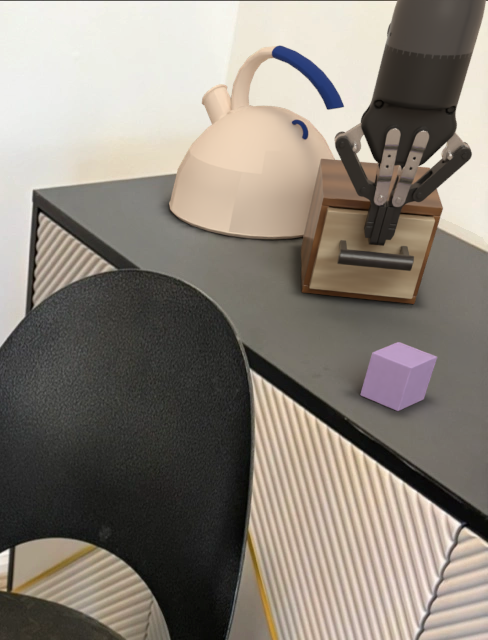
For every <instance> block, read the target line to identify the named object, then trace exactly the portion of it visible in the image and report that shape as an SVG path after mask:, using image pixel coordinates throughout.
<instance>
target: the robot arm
mask: <svg viewBox="0 0 488 640" xmlns="http://www.w3.org/2000/svg"><path fill="white" fill-rule="evenodd" d="M395 3H396V4H395V7H394V9H393V13H392V16H391V20H390V23H389V25H388V28H387V30H386V31H387V32H386V37H387V38H386V41H385V45H384V49H383V52H382V57H381V61H380V64H379V68H378V69H379V70H378V72H377V77H376V81H375V85H374V89H373V92H372V97H371V100H370V102H369V103H370V104H369V105H368V107H366V109H365V111H364V112H363V114H362V115H361V118H360V122H359V123H358V124H356V125H355V126H353V127H352V128H350V129H348V130H346V131H339V132H337V133H336V134H335V137H334V147H335V150H336V152H337V154H338V156H339V158H340V159H339V160H341V161H342V163H343V165H344V167H345V169H346V171H347V173H348V175H349V178H350V180H351V182H352V184H353V186H354V188H355V190H356V192H357V194H358V195H359V196H361V197H365V198H367V199H369V200H370V206H369V210H368V214H367V218H366V222H365V225H364V233H365V238H368V243H369V245H380V246H384V244H385V241H386V240H391V239H392V237H393V236H394V234H395V230H396V227H397V223H398V219H399V216H400V212H401V209H402V207H403V206H404V205H405V204H407V203H410V202H413V201H416V202H421V201H423V200H424V199H425V198H427V197H428V196H429V195H430V194H431V193H432V192H433V191H435V190H436V189H437V190H438V188H439V187H440V186H442V185H443V184H444V183H445V182H447V181H448V180H449V179H450V178H451V177H452V176H453V175H454V174H455V173H456V172H458V170H460V169H461V168H462V167H463V166H464V165H466V164H467V163H468V162H469V161H470V160H471V158H472V155H473V152H472V149H471V147H470V145H469V143H468V142H466V141H463V140H462V138H461V137H460V136H459V135H458V134H457V132H456V131H457V129H458V122H457V118H456V117H457V116H456V114H457V109H458V104H459V101H460V97H461V95H462V91H463V88H464V83H465V80H466V77H467V74H468V71H469V68H470V67H469V66H470V63H471V60H472V58H473V53H474V50H475V47H476V44H477V39H478V36H479V33H480V30H481V27H482V22H483V19H484V14H485V9H486V3H487V0H396V2H395ZM363 136H364V138H365V141H366V143H367V145H368V149H369V151H370V153H371V155H372V158H373V159H374V161H375V163H377V168H376V176H375V182H372V181H370V180H368V178H367V176H366V174H365V172H364V169H363V167H362V165H361V163H360V162H361V160H360V158H359V156H358V153H360V151H361V149H362V142H361V140H362V137H363ZM444 145H445V147H444ZM442 147H444V148H443V149H442V150H441V153H440V155H441V159H440V160H438V161H437V162H436V163H434V165H433V166H432V167H430V170H429V171H427V172H426V173H425V174H424V175H423V176H422V177H421V178H420V179H418V180H417V181H416V182H415V183H414V184H412V182H413V180H414V178H415V175H416V172H417V169H418V167H421V166H422V165H424V164H425V163H427V162H428V161H429V160H430V159H431V158H432V157H433V156H434V155H435V154H436V153H437V152H438V151H440V149H441V148H442ZM396 165H399V167H398V171H397V175H396V178H395V181H394V184H393V187H392V190H391V193H390V197H389V201H387V197H388V192H389V187H390V182H391V179H392V175H393V169H394V166H396Z"/></svg>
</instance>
